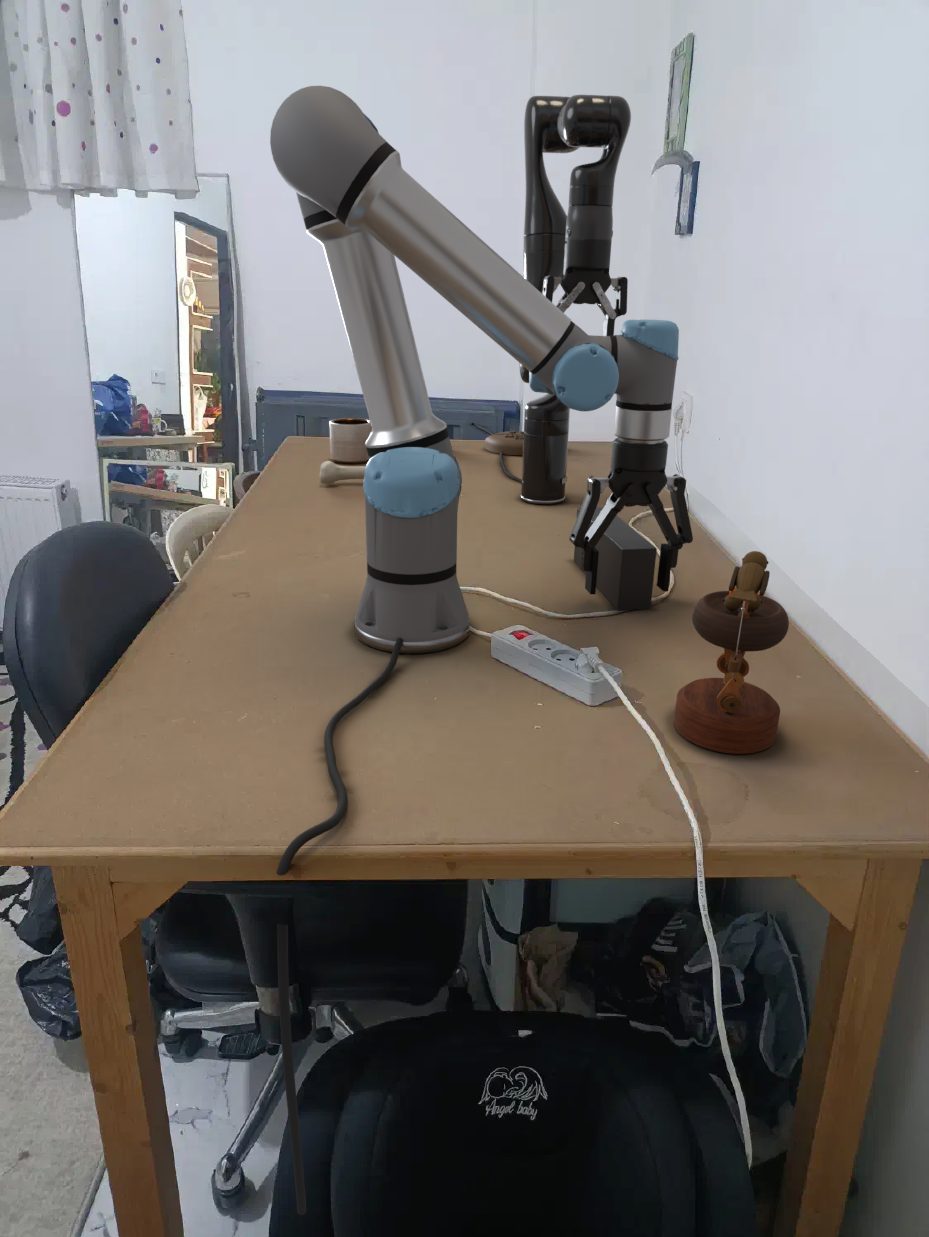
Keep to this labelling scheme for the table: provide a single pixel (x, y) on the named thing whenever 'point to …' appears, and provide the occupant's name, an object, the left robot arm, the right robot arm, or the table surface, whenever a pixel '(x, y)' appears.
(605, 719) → the table surface
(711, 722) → the music box
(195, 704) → the table surface
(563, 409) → the right robot arm
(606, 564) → the bar
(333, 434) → the planter
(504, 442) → the brown flat rounded piece
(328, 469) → the dog toy
